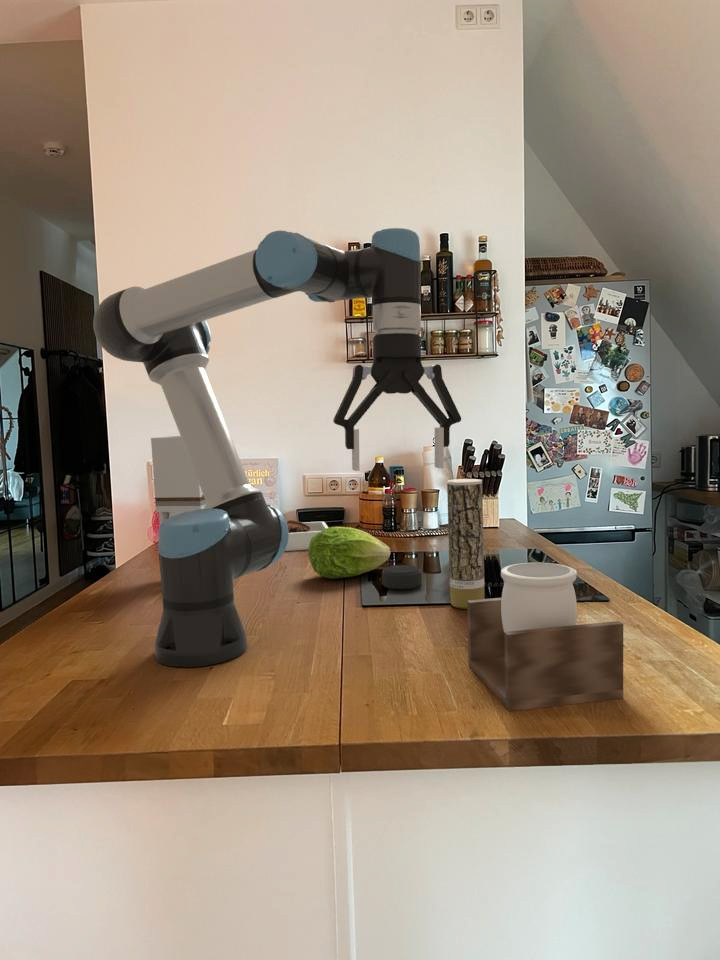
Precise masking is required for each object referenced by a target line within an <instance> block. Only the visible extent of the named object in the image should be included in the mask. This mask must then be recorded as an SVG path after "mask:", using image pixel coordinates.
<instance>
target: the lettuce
mask: <svg viewBox="0 0 720 960" xmlns="http://www.w3.org/2000/svg"><path fill="white" fill-rule="evenodd" d="M307 552H308V558H309V563H310V564H311V568H312V570H313V572H315V573H316V574H318V576H321V577H323V578H326V579H332V580H335V579H345V578H353V577H356V576H360V575H361V574H364V573H365V574H366V573H368V572H370V571H373V570H375V569H377V568H378V567H380V566H381V565H382V564H384V563H386V562H387V560H389V559H390V555H391V548H390V547H389V546H388V545H387V544H386V543H384V542H383V541H381V540H379V539H378V538H377V537H375V536H373V535H372V534H370V533H368V532H366V531H364V530H362V529H359V528H358V529H357V528H355V527H354V528H353V527H349V526H331V527H328V528H327V529H325V530H323V531H321V532H319V533H318V534H316V535H315V536H314V537H312V538H311V541H310V545H309V549H307Z"/></svg>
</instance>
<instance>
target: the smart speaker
mask: <svg viewBox="0 0 720 960" xmlns="http://www.w3.org/2000/svg"><path fill="white" fill-rule="evenodd" d="M422 574H423V573H422V570H421V568H419V567H418V566H415V565H409V564H406V565H405V564H401V565H400V564H398V565H390V566H387V567H385V568H384V569H383V570H382V571H381V584H382V585H383V587H384V588H387V589H389V590H394V589H408V590H412V589H411V588H414V589H416V588H415V587H417V588H418V586H419V587H420V586H422V582H423V578H422V576H423V575H422Z"/></svg>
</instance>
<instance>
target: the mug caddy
mask: <svg viewBox="0 0 720 960" xmlns="http://www.w3.org/2000/svg"><path fill="white" fill-rule="evenodd" d="M303 523H304V524H306V525H307V526H309V527H310V530H309V532H297V533H289V537H288V544H287V546H286V549H285V552H289V551H290V552H291V551H292V552H293V551H304V550H305V551H306V550H307V551H308V550H309V545H310V541H311V538H312V537H314V536H315V535H316V534H318V533H319V532H321V531H323V530H325V529H327V528H329V526H328V525H327V523H326V522H325V520H324V521H323V520H322V521H310V522H308V521H307V522H303Z"/></svg>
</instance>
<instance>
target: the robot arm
mask: <svg viewBox="0 0 720 960" xmlns="http://www.w3.org/2000/svg"><path fill="white" fill-rule="evenodd" d="M422 263H423V262H422V254H421V240H420V236H419V234H418V233H417V232H416V231H413V230H411V229H408V228H402V227H401V228H400V227H399V228H398V227H393V228H390V227H389V228H384V229H381V230H378V231H375V232H374V233H373V235H372V237H371V242H370V247H365V248H361V249H353V250H352V249H351V250H340V249H337V248H335V247H332V246H330V245H327V244H323V243H321V242H319V241H316V240H313V239H311V238H308V237H306V236H304V235H303V234H300V233H298V232H292V231H286V230H274V231H271V232H269V233H267V234H266V235H265V237H264V238H263V239H262V240H261V241H260V242H259V243H258V245H257V248H256V249H253V250H251V251H248V252H244V253H243V254H239V255H236V256H234V257H230V258H228V259H225V260H222V261H220V262H217V263H214V264H211V265H209V266H206V267H203V268H201V269H200V268H199V269H196V270H194V271H192V272H189V273H186V274H183V275H181V276H178V277H175V278H173V279H170V280H166V281H164V282H161V283H158V284H155V285H153V286H150V287H147V288H143V287H141V286H135V285H134V286H130V287H128V288H125V289H122V290H119V291H117V292H114V293H113V294H110V295H108V296H107V297H106V298H104V299H102V301H101V302H100V303H99V305H98V306H97V308H96V309H95V312H94V315H93V324H92V325H93V326H92V327H93V331H94V335H95V337H96V339H97V342H98V343H99V345H100V346H101V348H102V349H104V351H105V352H106V353H108V354H109V355H110V356H112V357H114V358H116V359H119V360H121V361H126V362H133V363H142V364H143V365H144V368H145V370H146V373H147V376H148V378H149V380H150V381H151V382H153V383H155V384H157V385H159V386H161V389H162V392H163V394H164V397H165V400H166V401H167V404H168V408H169V410H170V412H171V415H172V418H173V421H174V423H175V425H176V427H177V430H178V432H179V434H180V435H179V436H181V438H182V441H183V443H184V446H185V448H186V451H187V454H188V456H189V459H190V461H191V464H192V466H193V469H194V472H195V474H196V477H197V479H198V482H199V484H200V487H201V490H202V492H203V495H204V497H205V500H206V505H205V507H204V509H199V510H194V511H192V512H189V511H188V512H184V513H180V514H177V515H174V516H172V517H170V518H168V519H166V520H165V521H164V522H163V523H162V524H161V525H160V524H159V527H158V542H157V543H158V544H157V552H158V560H159V570H160V572H159V573H160V574H159V575H160V586H162V587H161V597H162V614H161V617H160V622H159V626H158V629H157V634H156V637H155V641H154V655H155V656H154V657H155V660H156V661H157V662H158V663H160V664H163V665H165V666H169V667H175V668H176V667H179V668H194V667H195V668H197V667H205V666H206V667H207V666H210V665H211V666H212V665H216V664H220V663H224V662H227V661H230V660H233V659H235V658H237V657H239V656H241V655H242V654H243V653H245V652H246V650H247V649H248V639H247V638H248V637H247V636H248V635H247V632H246V629H245V627H244V625H243V622H242V620H241V617H240V614H239V612H238V610H237V607H236V603H235V596H234V595H235V594H234V580H236V579H238V578H241V577H243V576H247V575H249V574H252V573H254V572H260V571H262V570H265V569H266V568H268V567H269V566H271V565H273V564H275V563H276V562H278V561H279V560H280V559H281V558H282V556H283V555H284V553H285V552H286V551H285V549H286V546H287V544H288V537H289V533H288V526H287V522H288V521H286V518H285V516H284V514H283V513H282V512H281V511H280V510H279V509H278V508H275V506H273V505H271V504H268V503H266V500H265V497H264V495H263V492H262V490H260V489H258V488H256V487H253V486H252V485H251V483H250V482H249V479H248V477H247V474H246V472H245V469H244V466H243V464H242V462H241V458H240V456H239V454H238V452H237V449H236V446H235V444H234V441H233V439H232V436H231V434H230V432H229V429H228V426H227V423H226V421H225V418H224V416H223V412H222V411H221V409H220V408H221V407H220V406H219V403H218V400H217V398H216V395H215V394H214V391H213V388H212V385H211V383H210V381H209V378H208V374H207V372H206V368H207V367H208V366H207V365H208V364H209V361H210V359H209V356H208V354H209V352H210V348H211V346H210V345H209V343H210V342H211V341H212V337H211V336H212V335H211V330H210V328H209V324H208V322H207V320H211V319H213V318H217V317H219V316H223V315H225V314H229V313H232V312H234V311H235V312H236V311H239V310H241V309H244V308H247V307H251V306H254V305H257V304H260V303H263V302H267V301H270V300H273V299H278V298H280V297H283V296H286V295H287V296H288V295H290V294H292V293H297V292H301V293H304V294H305V295H306V296H308V299H310V300H311V301H312V302H315V303H316V302H317V303H321V302H322V303H325V302H327V303H335V302H337V301H348V300H355V299H356V300H357V299H367V298H368V299H370V298H372V331H373V332H374V333H376V335H374V337H372V353H373V354H372V360H373V361H372V365H371V366H363V365H361V364H358V365H354V366H353V369H352V379H351V381H350V383H349V386H348V388H347V389H346V392H345V394H344V396H343V399H341V400H342V401H341V402H340V404H339V407H338V408H337V411H336V413H335V414H334V418H333V423H334V424H335V425H337V426H341V427H343V429H344V434H345V435H344V436H345V437H344V442H345V443H344V444H345V445H344V446H345V448H346V449H347V450H351V455H352V456H351V464H352V465H351V469H352V471H355V472H359V471H360V470H361V469H360V429H359V428H355V426H356V425H357V423H359V422H360V419H362V417H364V415H365V414H366V412H367V411H368V410H369V409H370V408H371V407H372V405H373V404H374V403H375V401H376V400H377V399H378V398H379V397H380V396H381V395H382V394H383V393H385V394H387V395H389V394H390V395H391V394H393V395H394V394H404V395H405V394H409V393H412V394H413V396H415V397H416V398H417V399H418V401H419V402H420V404H422V405H423V407H424V408H425V409H426V410H427V412H428V413H429V414H430V415H431V417H433V418H434V420H435V421H436V422H437V423H438V425H439V426H435V427H434V468H437V469H444V468H445V467H444V464H445V463H444V460H445V458H444V454H445V453H444V451H445V449H444V448H448V447H449V446H450V441H451V440H450V439H451V438H450V436H451V435H450V431H451V430H450V429H451V428H450V427H452V425H455V424H458V423H460V422H461V421H462V416H461V414H460V413H459V412H460V411H458V408H457V406H456V404H455V402H454V400H453V398H452V396H451V394H450V392H449V389H448V387H447V385H446V383H445V381H444V379H443V372H442V366H441V364H438V363H437V364H433V365H430V366H423V364H422V337H421V336H420V334H418V332H420V331H421V330H422V321H421V320H422V319H421V318H422V316H421V315H422V313H421V311H422V310H421V309H422V308H421V287H422V284H421V283H422V282H421V281H422V279H421V278H422V277H421V276H422V275H421V274H422ZM368 375H370V376H371V377H372V379H373V381H374V382H375V383H374V385H373V387H372V388H371V389H370V391H369V392H368V394H367V395H365V397H364V399H362V401H361V402H360V403H359V404H358V406H357V407H356V408H355V410H354V411H353V412H352V414H350V416H349V417H348V418H347V419H346V416H347V414H348V412H349V410H350V408H351V405H352V403H353V401H354V398H355V397H356V395H357V393H358V390H359V389H360V387H361V385H362V381H364V380H366V379H367V377H368ZM424 375H426V377H427V379H429V380H431V383H432V385H433V388H434V390H435V392H436V394H437V396H438V398H439V400H440V402H441V404H442V407H443V408H444V411H445V413H446V414H445V413H444V412H443V411H442V410H441V408H440V407H439V406H438V405H437V403H436V402H435V401H434V400H433V398H431V397H430V395H429V394H428V393H427V392H426V389H425V388H424V387H423V385H422V384H421V383H420V382H419V381H420V380H421V379H422V377H424ZM446 415H447V416H446Z"/></svg>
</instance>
